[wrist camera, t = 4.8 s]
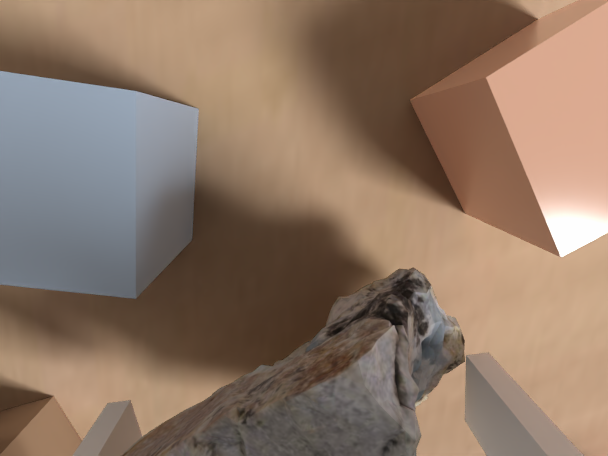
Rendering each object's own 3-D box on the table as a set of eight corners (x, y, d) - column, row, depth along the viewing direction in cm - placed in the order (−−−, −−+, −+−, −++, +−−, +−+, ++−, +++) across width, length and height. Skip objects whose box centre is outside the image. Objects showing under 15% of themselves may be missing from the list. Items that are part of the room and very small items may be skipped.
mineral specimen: (336, 334, 18) (248, 185, 13) (507, 382, 13) (482, 168, 8) (227, 548, 13) (-10, 444, 7) (453, 776, 8) (227, 990, 2)
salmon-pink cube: (463, 212, 13) (561, 257, 8) (409, 100, 12) (486, 76, 7) (581, 145, 13) (757, 152, 8) (536, 19, 11) (712, -64, 7)
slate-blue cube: (63, 223, 13) (-73, 277, 8) (55, 87, 12) (-114, 54, 7) (192, 239, 13) (135, 299, 8) (199, 108, 12) (135, 90, 7)
